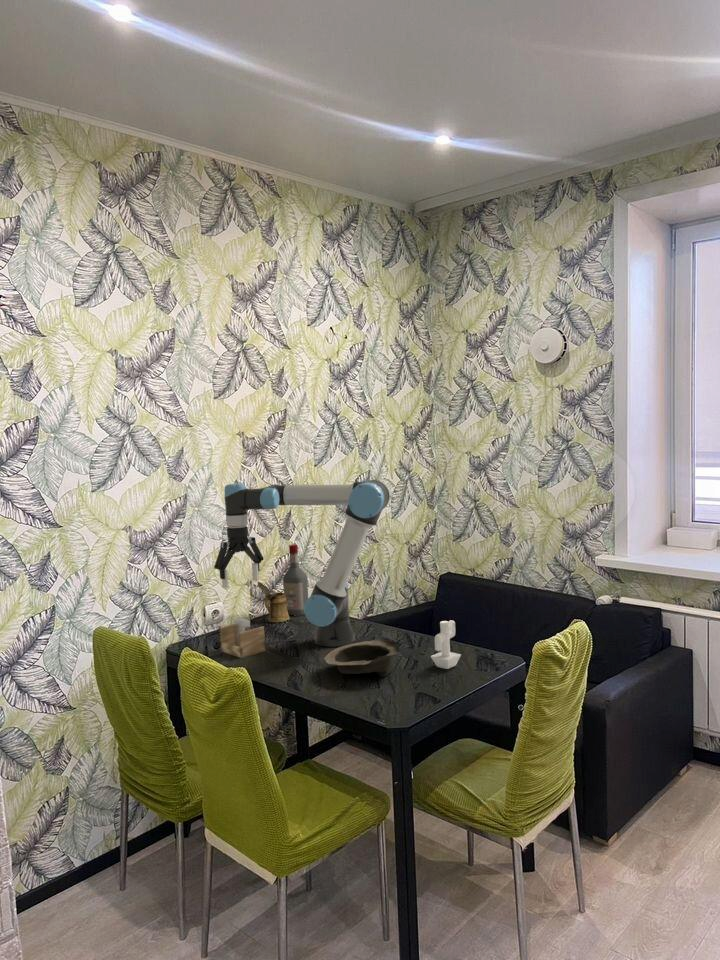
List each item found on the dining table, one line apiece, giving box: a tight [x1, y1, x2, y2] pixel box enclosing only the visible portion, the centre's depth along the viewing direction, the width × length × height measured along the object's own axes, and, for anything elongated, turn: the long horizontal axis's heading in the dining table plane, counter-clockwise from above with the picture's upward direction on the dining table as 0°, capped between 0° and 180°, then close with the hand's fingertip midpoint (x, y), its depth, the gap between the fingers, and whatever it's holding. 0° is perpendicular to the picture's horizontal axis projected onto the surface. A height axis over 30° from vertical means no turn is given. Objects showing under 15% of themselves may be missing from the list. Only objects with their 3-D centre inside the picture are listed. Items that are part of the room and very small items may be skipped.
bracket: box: [232, 617, 251, 647], centre depth 269 cm, size 7×6×11 cm
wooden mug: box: [257, 581, 291, 624], centre depth 309 cm, size 9×14×18 cm, turn 128°
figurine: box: [430, 619, 462, 670], centre depth 242 cm, size 7×9×15 cm
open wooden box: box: [219, 623, 266, 659], centre depth 269 cm, size 13×11×9 cm
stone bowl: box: [323, 637, 401, 678], centre depth 241 cm, size 25×25×9 cm
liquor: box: [282, 544, 309, 617], centre depth 320 cm, size 9×9×30 cm
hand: (240, 584), depth 269 cm, fingers open, 13 cm apart
